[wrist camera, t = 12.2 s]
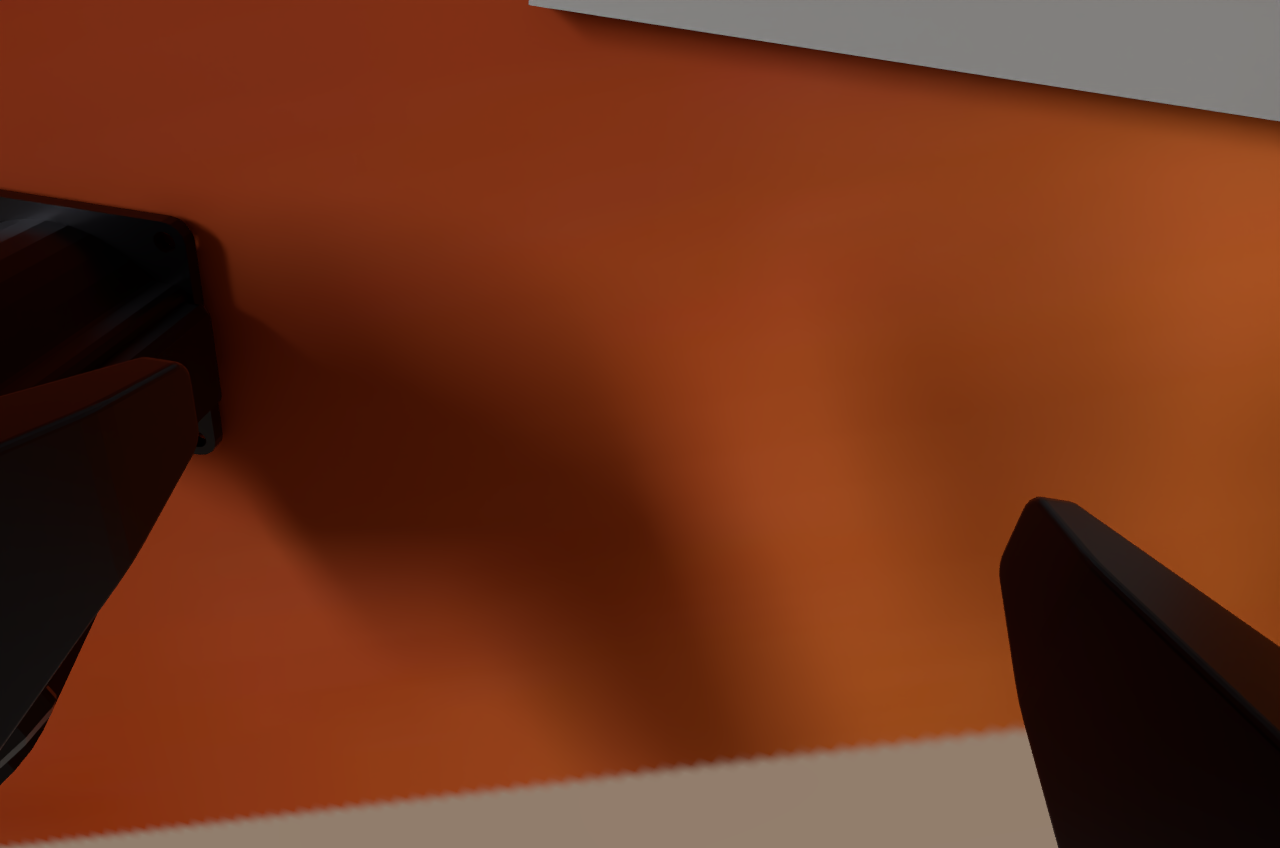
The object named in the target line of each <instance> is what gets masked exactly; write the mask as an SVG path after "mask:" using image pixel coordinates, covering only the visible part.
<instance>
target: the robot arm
mask: <svg viewBox="0 0 1280 848" xmlns="http://www.w3.org/2000/svg"><path fill="white" fill-rule="evenodd" d="M163 232H165V233H167V234H169V235H170V236H171V237H172V238H173V240H174V242H175V247H174V246H171V245H169V244H168V243H167V242H166V241H165V239H164V237H163ZM221 397H222V395H221V388H220V381H219V374H218V367H217V360H216V353H215V346H214V338H213V331H212V324H211V317H210V314H209V313H208V311H207V310H206V308H205V307H204V303H203V296H202V289H201V282H200V275H199V268H198V261H197V254H196V247H195V241H194V237H193V234H192V232H191V230H190V229H189V228H188V226H187V225H186V224H185V223H183V222H182V221H181V220H179V219H177V218H174V217H171V216H166V215H160V214H153V213H147V212H140V211H134V210H128V209H121V208H115V207H108V206H102V205H95V204H89V203H83V202H76V201H70V200H63V199H57V198H50V197H44V196H37V195H31V194H25V193H18V192H12V191H5V190H0V785H1V784H2V783H3V782H4V781H5V780H6V779H7V778H8V777H9V776H10V775H11V774H12V773H13V772H14V771H15V770H16V768H17V767H18V766H19V765H20V763H21V762H22V761H23V760H24V758H25V757H26V756H27V755H28V753H29V752H30V751H31V750H32V748H33V747H34V745H35V743H36V742H37V740H38V738H39V736H40V735H41V733H42V731H43V730H44V727H45V725H46V723H47V721H48V719H49V717H50V715H51V713H52V711H53V708H54V706H55V704H56V702H57V699H58V697H59V695H60V693H61V691H62V689H63V687H64V684H65V682H66V680H67V678H68V676H69V674H70V671H71V669H72V667H73V665H74V663H75V661H76V658H77V656H78V654H79V652H80V650H81V648H82V646H83V643H84V641H85V639H86V637H87V635H88V633H89V630H90V628H91V626H92V624H93V622H94V620H95V618H96V615H97V613H98V612H99V610H100V609H101V608H102V606H103V605H104V603H105V602H106V600H107V599H108V598H109V596H110V595H111V593H112V592H113V591H114V589H115V588H116V586H117V585H118V584H119V582H120V581H121V579H122V578H123V576H124V575H125V573H126V572H127V570H128V569H129V567H130V566H131V564H132V563H133V561H134V559H135V558H136V556H137V554H138V553H139V551H140V549H141V548H142V546H143V544H144V543H145V541H146V539H147V537H148V535H149V533H150V532H151V530H152V528H153V526H154V524H155V523H156V521H157V519H158V517H159V515H160V513H161V512H162V510H163V508H164V506H165V504H166V503H167V501H168V499H169V497H170V495H171V493H172V492H173V490H174V488H175V486H176V484H177V483H178V481H179V479H180V477H181V475H182V473H183V472H184V470H185V468H186V466H187V464H188V463H189V461H190V459H191V457H192V455H193V454H199V455H201V454H208V453H210V452H212V451H213V450H214V449H215V448H216V447H217V445H218V444H219V443H220V442H221V440H222V427H221V420H220V413H219V406H218V402H219V401H220V400H221ZM199 432H200V433H201V434H202V435H203V436H204V437H205V439H204V438H201V437H200V436H198V434H199ZM999 576H1000V584H1001V591H1002V598H1003V604H1004V611H1005V618H1006V624H1007V631H1008V638H1009V644H1010V651H1011V658H1012V664H1013V671H1014V677H1015V684H1016V689H1017V694H1018V700H1019V704H1020V708H1021V713H1022V717H1023V721H1024V725H1025V728H1026V732H1027V735H1028V739H1029V743H1030V746H1031V750H1032V754H1033V757H1034V761H1035V764H1036V768H1037V772H1038V775H1039V779H1040V783H1041V786H1042V790H1043V793H1044V797H1045V801H1046V805H1047V808H1048V812H1049V815H1050V819H1051V823H1052V826H1053V830H1054V834H1055V837H1056V841H1057V845H1058V848H1280V647H1279V646H1278V645H1276V644H1275V643H1273V642H1272V641H1270V640H1269V639H1268V638H1266V637H1265V636H1263V635H1262V634H1260V633H1259V632H1258V631H1256V630H1255V629H1253V628H1252V627H1251V626H1249V625H1248V624H1246V623H1245V622H1243V621H1242V620H1241V619H1239V618H1238V617H1236V616H1235V615H1233V614H1232V613H1231V612H1229V611H1228V610H1226V609H1225V608H1223V607H1222V606H1221V605H1219V604H1218V603H1216V602H1215V601H1214V600H1212V599H1211V598H1209V597H1208V596H1206V595H1205V594H1204V593H1202V592H1201V591H1199V590H1198V589H1196V588H1195V587H1194V586H1192V585H1191V584H1189V583H1188V582H1186V581H1185V580H1184V579H1182V578H1181V577H1179V576H1178V575H1177V574H1175V573H1174V572H1172V571H1171V570H1169V569H1168V568H1167V567H1165V566H1164V565H1162V564H1161V563H1159V562H1158V561H1157V560H1155V559H1154V558H1152V557H1151V556H1149V555H1148V554H1147V553H1145V552H1144V551H1142V550H1141V549H1140V548H1138V547H1137V546H1135V545H1134V544H1132V543H1131V542H1130V541H1128V540H1127V539H1125V538H1124V537H1122V536H1121V535H1120V534H1118V533H1117V532H1115V531H1114V530H1112V529H1111V528H1110V527H1108V526H1107V525H1105V524H1104V523H1103V522H1101V521H1100V520H1098V519H1097V518H1095V517H1094V516H1093V515H1091V514H1090V513H1088V512H1087V511H1085V510H1084V509H1083V508H1081V507H1080V506H1078V505H1077V504H1075V503H1073V502H1070V501H1064V500H1058V499H1051V498H1045V497H1036V498H1033V499H1031V500H1030V501H1029V502H1028V503H1027V504H1026V506H1025V507H1024V509H1023V511H1022V513H1021V515H1020V518H1019V520H1018V522H1017V524H1016V526H1015V529H1014V531H1013V533H1012V535H1011V537H1010V539H1009V542H1008V544H1007V546H1006V548H1005V550H1004V553H1003V555H1002V558H1001V562H1000V570H999Z"/></svg>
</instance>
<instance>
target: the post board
mask: <svg viewBox="0 0 1280 848" xmlns="http://www.w3.org/2000/svg"><path fill="white" fill-rule="evenodd" d="M529 5H533V6H539V7H545V8H552V9H558V10H565V11H571V12H578V13H584V14H591V15H597V16H603V17H610V18H616V19H623V20H629V21H636V22H642V23H649V24H655V25H662V26H668V27H674V28H681V29H687V30H694V31H700V32H707V33H713V34H720V35H726V36H733V37H739V38H745V39H752V40H758V41H765V42H771V43H778V44H784V45H791V46H797V47H804V48H810V49H816V50H823V51H829V52H836V53H842V54H849V55H855V56H862V57H868V58H875V59H881V60H887V61H894V62H900V63H907V64H913V65H920V66H926V67H933V68H939V69H945V70H952V71H958V72H965V73H971V74H978V75H984V76H991V77H997V78H1004V79H1010V80H1016V81H1023V82H1029V83H1036V84H1042V85H1049V86H1055V87H1062V88H1068V89H1075V90H1081V91H1087V92H1094V93H1100V94H1107V95H1113V96H1120V97H1126V98H1133V99H1139V100H1146V101H1152V102H1158V103H1165V104H1171V105H1178V106H1184V107H1191V108H1197V109H1204V110H1210V111H1217V112H1223V113H1229V114H1236V115H1242V116H1249V117H1255V118H1262V119H1268V120H1275V121H1280V0H529Z"/></svg>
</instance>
